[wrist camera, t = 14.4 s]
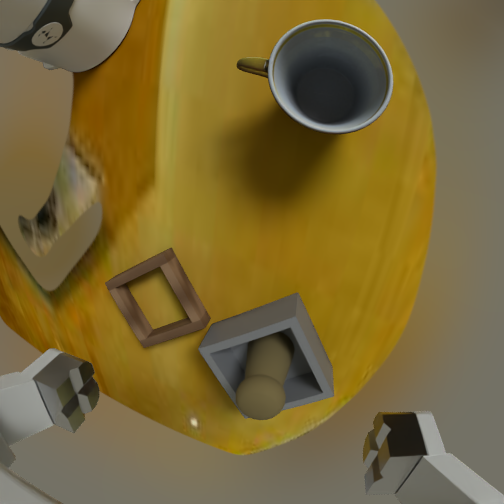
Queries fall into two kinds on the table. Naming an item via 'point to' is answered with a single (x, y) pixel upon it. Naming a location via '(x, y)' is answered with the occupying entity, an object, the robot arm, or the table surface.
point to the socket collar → (182, 290)
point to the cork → (265, 376)
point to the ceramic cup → (327, 76)
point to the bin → (262, 324)
